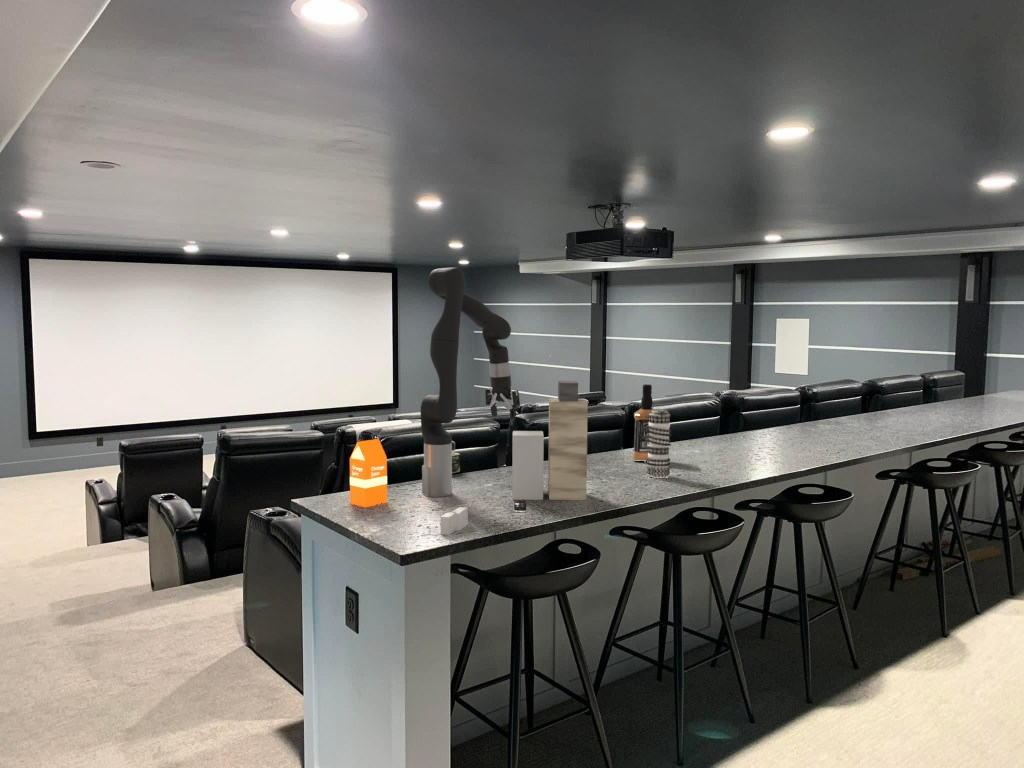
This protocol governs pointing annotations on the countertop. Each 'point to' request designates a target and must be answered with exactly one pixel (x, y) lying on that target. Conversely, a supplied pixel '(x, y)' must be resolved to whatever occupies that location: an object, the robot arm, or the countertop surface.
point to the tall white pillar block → (527, 465)
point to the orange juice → (368, 474)
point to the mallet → (567, 390)
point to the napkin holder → (453, 521)
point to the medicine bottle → (455, 460)
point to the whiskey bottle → (642, 425)
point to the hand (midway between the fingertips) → (503, 417)
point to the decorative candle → (658, 443)
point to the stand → (567, 450)
